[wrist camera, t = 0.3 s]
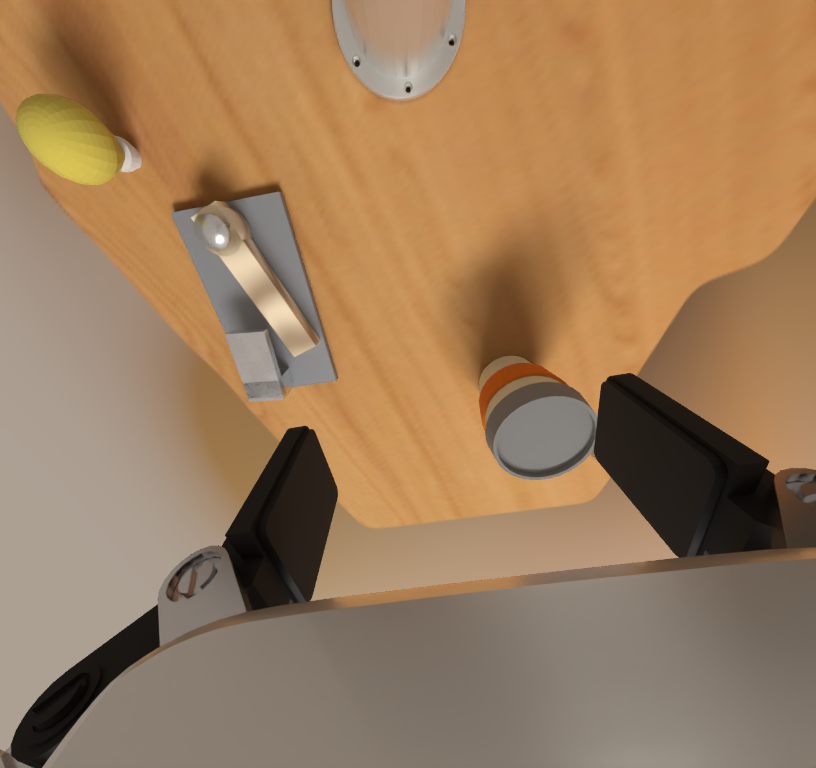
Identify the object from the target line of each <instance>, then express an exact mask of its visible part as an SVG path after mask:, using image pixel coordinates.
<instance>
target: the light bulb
mask: <svg viewBox="0 0 816 768" xmlns="http://www.w3.org/2000/svg"><path fill="white" fill-rule="evenodd" d="M16 123H17V128H18V131H19V134H20V136H21V138H22V140H23V142H24V143H25V145H26V146H27V148H28V149H29V150H30V152H31V153H32V154H33V155H34V156H35V157H36V158H37V159H38V160H39V161H40V162H41V163H42V164H43V165H45V166H46V167H47V168H49V169H50V170H52V171H53V172H55V173H56V174H58V175H60V176H62V177H64V178H66V179H69V180H72V181H74V182H77V183H80V184H85V185H101V184H104V183H106V182H108V181H110V180H111V179H112V178H113V177H115V176H116V175H117V174H118V173H119V172H120V171H122V172H132V171H134V170H135V169H138V168H140V167H141V164H142V159H141V155H140V153H139V152H138V150H137V149H136V148H135V147H133V146H132V145H131V144H130V143H129V142H128V141H126V140H125V139H124V138H121V137H118V136H115V135H113V134H112V133H111V132H110V130H109V129H108V128H107V127H106V126H105V125H104V124H103V123H102V122H101V121H100V120H99V119H98V118H97V117H96V116H95V115H94V114H93V113H92V112H91V111H89V110H88V109H87V108H85V107H84V106H82V105H81V104H79V103H77V102H75V101H72V100H70V99H67V98H65V97H62V96H59V95H52V94H36V95H33V96H31V97H29V98H27V99H25V100H24V101H22V103H21V104H20V106H19V108H18V110H17V115H16Z"/></svg>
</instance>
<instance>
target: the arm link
mask: <svg viewBox="0 0 816 768" xmlns="http://www.w3.org/2000/svg"><path fill="white" fill-rule="evenodd" d="M203 213H211V214H215V215H217V216H219V217H220V218H221V219H222V220H223V221H224V222H225V223H226V224H227V226H228V228H229V231H230V241H229V244H228V245H227V246H226V247H225V248H223V249H219V250H213V249H209V248H207V247H206V248H207V249H208V250H209V251H211V252H212V253H214V254H217V255H219V256H220V258H221V259H222V260H223V262H224V263H225V265H226V266H227V267H228V269H229V270H230V271H231V273H232V274H233V275H234V277H235V278H236V279H237V281H238V282H239V283H240V285H241V286H242V287H243V289H244V290H245V291H246V293H247V294H248V295H249V297H250V298H251V300H252V301H253V302H254V304H255V305H256V306H257V308H258V309H259V310H260V312H261V313H262V314H263V316H264V317H265V318H266V320H267V321H268V322H269V324H270V325H271V326H272V328H273V329H274V330H275V332H276V333H277V335H278V336H279V337H280V339H281V340H282V341H283V343H284V344H285V345H286V347H287V348H288V349H289V351H290V352H291V353H292V355H293V356H294V357H296V356H297V355H299V354H301V353H303V352H305V351H307V350H309V349H311V348H313V347H315V346H316V345H317V344H318V342H319V341H320V339H319V337H318V336H317V334H316V333H315V331H314V330H313V329H312V327H311V326H310V324H309V323H308V321H307V320H306V318H305V317H304V315H303V314H302V312H301V311H300V309H299V308H298V306H297V305H296V304H295V302H294V301H293V299H292V298H291V296H290V295H289V293H288V292H287V290H286V289H285V287H284V286H283V284H282V283H281V282H280V280H279V279H278V277H277V276H276V274H275V273H274V271H273V270H272V268H271V267H270V265H269V264H268V262H267V261H266V259H265V258H264V257H263V255H262V254H261V252H260V251H259V249H258V248H257V246H256V245H255V243H254V242H253V240H252V234H251V229H250V226H249V224H248V222H247V220H246V219H245V218H244V217H243V215H242V214H240V213H239V212H238V211H236V210H235V209H233V208H230V207H229V205H228V204H227V202H222V201H214V202H212V203H211V204H210V205H208V206H206V207H204V208H202V209H201V210H200V211H199V212H198V213H197V214H195V215H194V216H192V217H191V219H192V220H193V221H195V219H196V217H197V216H198V215H200V214H203Z"/></svg>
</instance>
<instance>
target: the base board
mask: <svg viewBox="0 0 816 768" xmlns="http://www.w3.org/2000/svg"><path fill="white" fill-rule="evenodd" d="M227 204H228V205H229V207H230V208H233V209H235V210H236V211H238V212H239V213H240V214H242V215H243V217H244V218H245V219H246V220H247V222H248V224H249V226H250V229H251V234H252V240H253V242H254V243H255V245H256V246H257V248H258V249H259V251H260V252H261V254H262V255H263V257H264V258H265V259H266V261H267V262H268V264H269V265H270V267H271V268H272V270H273V271H274V273H275V274H276V276H277V277H278V279H279V280H280V282H281V283H282V284H283V286H284V287H285V289H286V290H287V292H288V293H289V295H290V296H291V298H292V299H293V301H294V302H295V304H296V305H297V306H298V308H299V309H300V311H301V312H302V314H303V315H304V317H305V318H306V320H307V321H308V323H309V324H310V326H311V327H312V329H313V330H314V331H315V333H316V334H317V336H318V337H319V339H320V341H319V342H318V344H317V345H316V346H315V347H313V348H311V349H309V350H307V351H305V352H303V353H301V354H299V355H297V356H296V357H294V356H293V355H292V353H291V352H290V351H289V349H288V348H287V347H286V345H285V344H284V343H283V341H282V340H281V339H280V337H279V336H278V335H277V333H276V332H275V330H274V329H273V328H272V326H271V325H270V324H269V322H268V321H267V320H266V318H265V317H264V316H263V314H262V313H261V312H260V310H259V309H258V308H257V306H256V305H255V304H254V302H253V301H252V300H251V298H250V297H249V295H248V294H247V293H246V291H245V290H244V289H243V287H242V286H241V285H240V283H239V282H238V281H237V279H236V278H235V277H234V275H233V274H232V273H231V271H230V270H229V269H228V267H227V266H226V265H225V263H224V262H223V260H222V259H221V258H220V256H219V255H217V254H214V253H212V252H211V251H209V250H208V249H207V248H206V247H205V246H204V245H203V244H202V243H201V242H200V241H199V240H198V239H197V237H196V235H195V232H194V221H193V220H192V219H191V217H192V216H194V215H195V214H197V213H198V212H199V211H200V210H201V209H202V208H204V207H206V206H203V207H197V208H192V209H187V210H182V211H177V212H172V213H171V215H172V217H173V219H174V222H175V224H176V226H177V228H178V230H179V233H180V235H181V237H182V239H183V241H184V244H185V246H186V248H187V250H188V252H189V254H190V257H191V259H192V261H193V263H194V265H195V268H196V270H197V272H198V274H199V276H200V279H201V281H202V283H203V285H204V287H205V289H206V292H207V294H208V296H209V298H210V300H211V303H212V305H213V307H214V309H215V311H216V314H217V316H218V318H219V320H220V322H221V324H222V327H223V329H224V331H225V333H228V332H230V331H243V330H256V329H268V332H269V336H270V339H271V342H272V346H273V349H274V353H275V356H276V359H277V363H278V366H279V368H287V367H289V368H290V371H291V375H292V379H293V382H294V386H293V387H298V386H305V385H312V384H318V383H325V382H332V381H337V379H338V377H337V374H336V370H335V367H334V364H333V360H332V357H331V354H330V350H329V347H328V344H327V340H326V337H325V334H324V330H323V327H322V324H321V320H320V317H319V314H318V310H317V307H316V304H315V300H314V297H313V294H312V290H311V287H310V284H309V280H308V277H307V274H306V270H305V267H304V264H303V260H302V257H301V254H300V250H299V247H298V244H297V240H296V237H295V234H294V230H293V227H292V224H291V220H290V217H289V214H288V210H287V207H286V204H285V200H284V197H283V194H282V192H274V193H269V194H264V195H259V196H254V197H249V198H244V199H238V200H233V201H228V202H227Z"/></svg>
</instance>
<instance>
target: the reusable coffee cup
mask: <svg viewBox="0 0 816 768" xmlns="http://www.w3.org/2000/svg"><path fill="white" fill-rule="evenodd" d="M479 390H480V398H479V406H480V412H481V418H482V424H483V427H484V430H485V435H486V441H487V444H488V446H489V448H490V450H491V452H492V453H493V455H494V457H495V459H496V460H497V462H498V463H499V465H500V466H501V467H502V468H503V469H504V470H505V471H506V472H508V473H510V474H511V475H513V476H516V477H519V478H523V479H529V480H541V479H548V478H552V477H556V476H559V475H562V474H564V473H566V472H569V471H570V470H572V469H574V468H575V467H577V466H578V465H579V464H581V463H582V462H583V461H584V460H585V459H586V458H587V457H588V456H589V455H590V454H591V452H592V451H593V449H594V444H595V435H596V426H597V416H596V414H595V412H594V411H593V410H592V408H591V407H590V406H589V404H588V403H587V402H586V400H585V399H584V398H583V397H582V395H581V394H580V393H579V392H578V391H576V390H575V389H573V388H572V387H569V386H568V385H567V384H566V383H565V382H564V381H563V380H561V379H560V378H558V377H557V376H555V375H554V374H552V373H551V372H549V371H548V370H546V369H545V368H543V367H541V366H539V365H536V364H532V363H530V362H529V361H527V360H526V359H524V358H522V357H519V356H504V357H501V358H498V359H496V360H494V361H492V362H491V363H490V364H489V365H487V367H486V368H485V369H484V370H483V372H482V374H481V376H480V379H479Z"/></svg>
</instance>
